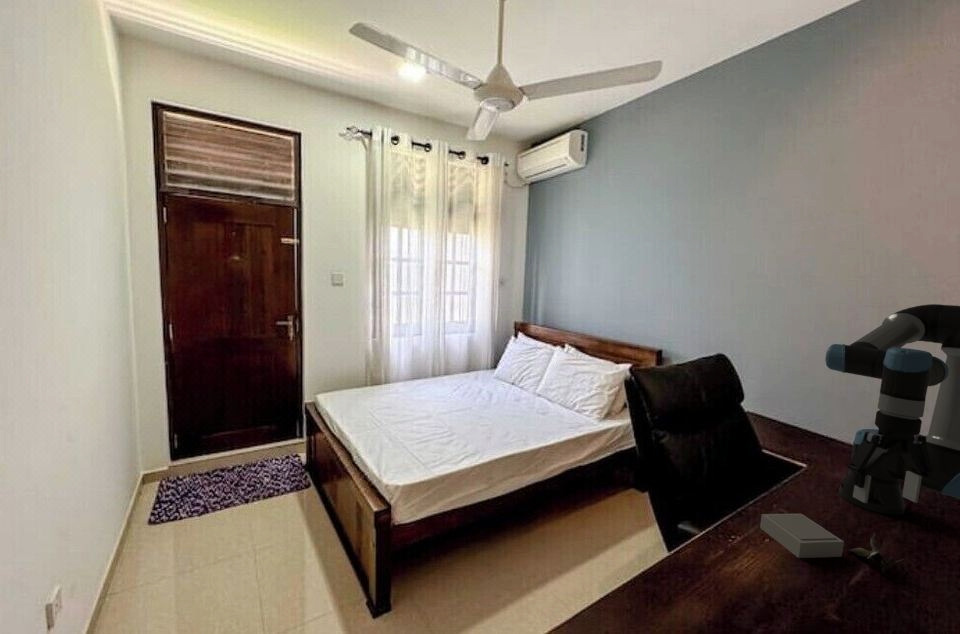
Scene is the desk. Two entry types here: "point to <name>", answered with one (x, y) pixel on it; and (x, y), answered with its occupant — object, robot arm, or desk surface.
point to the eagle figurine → (876, 555)
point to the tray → (801, 535)
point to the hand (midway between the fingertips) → (884, 499)
